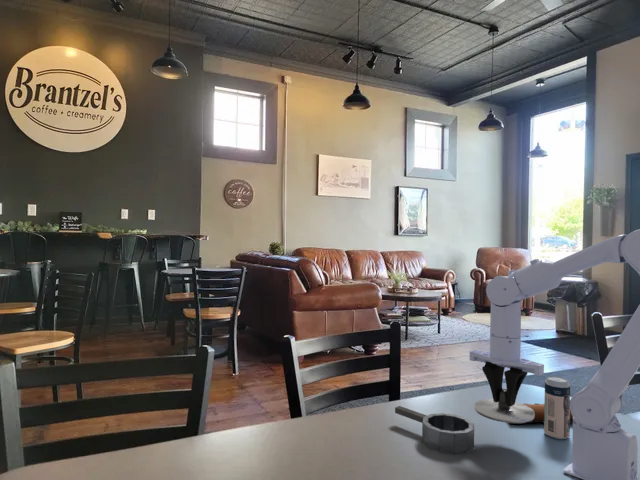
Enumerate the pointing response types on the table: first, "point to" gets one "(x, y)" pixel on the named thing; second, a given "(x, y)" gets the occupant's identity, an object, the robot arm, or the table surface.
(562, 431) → the white labeled canister
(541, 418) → the sunglasses case
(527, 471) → the table surface
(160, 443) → the table surface
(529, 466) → the table surface
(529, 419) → the lid
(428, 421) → the saucepan
